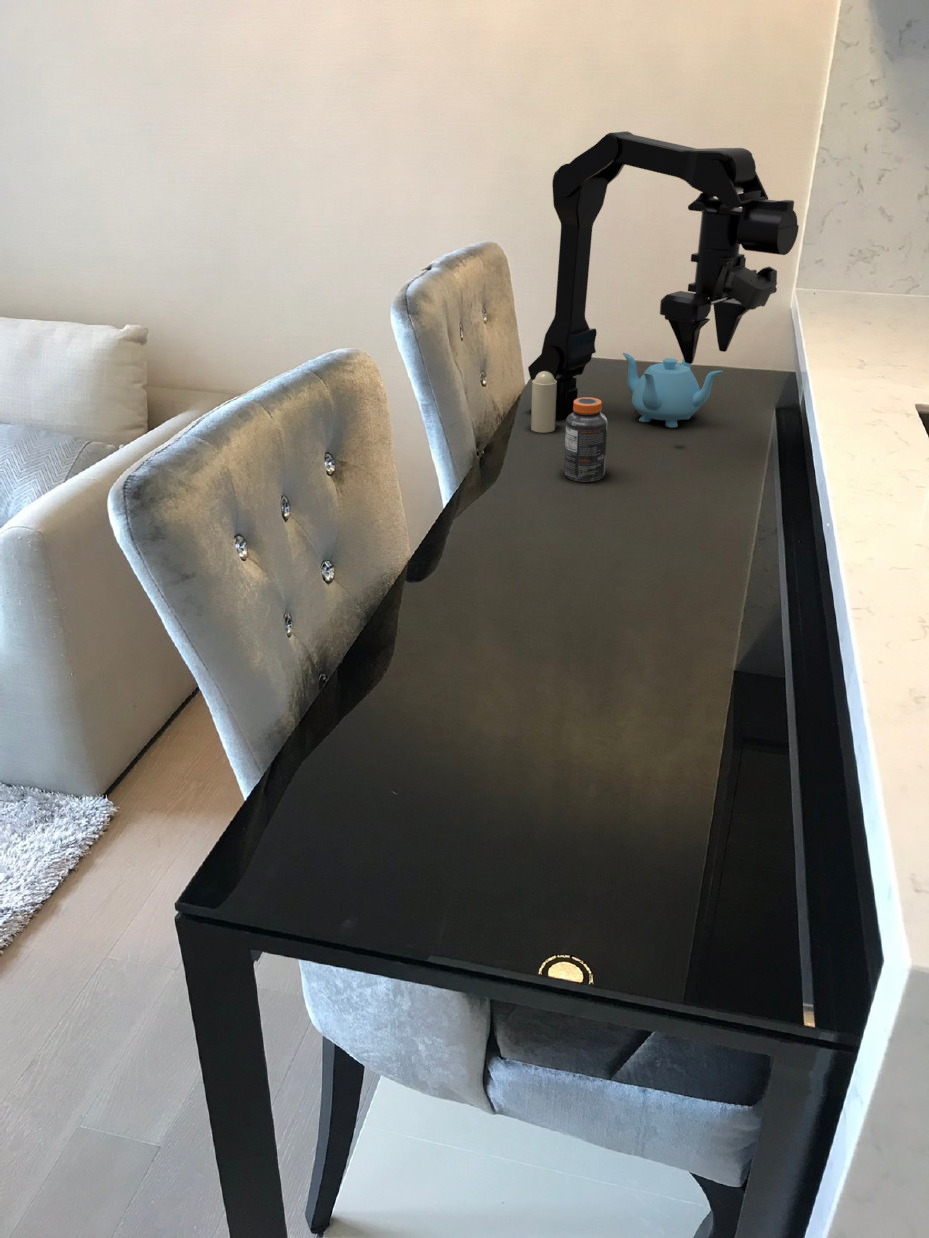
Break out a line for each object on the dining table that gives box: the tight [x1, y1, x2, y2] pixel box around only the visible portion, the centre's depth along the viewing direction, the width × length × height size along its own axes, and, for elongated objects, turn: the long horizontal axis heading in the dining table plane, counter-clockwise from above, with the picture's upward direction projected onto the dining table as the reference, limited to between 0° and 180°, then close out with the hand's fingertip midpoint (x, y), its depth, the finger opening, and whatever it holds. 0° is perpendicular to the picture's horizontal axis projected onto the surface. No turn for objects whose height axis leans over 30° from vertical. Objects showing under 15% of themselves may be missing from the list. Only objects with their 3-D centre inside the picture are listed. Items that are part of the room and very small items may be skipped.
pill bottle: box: [563, 396, 608, 483], centre depth 144 cm, size 6×6×11 cm
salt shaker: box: [530, 371, 557, 434], centre depth 163 cm, size 4×4×10 cm
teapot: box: [622, 352, 724, 428], centre depth 167 cm, size 13×13×10 cm
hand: (706, 357), depth 149 cm, fingers open, 9 cm apart
